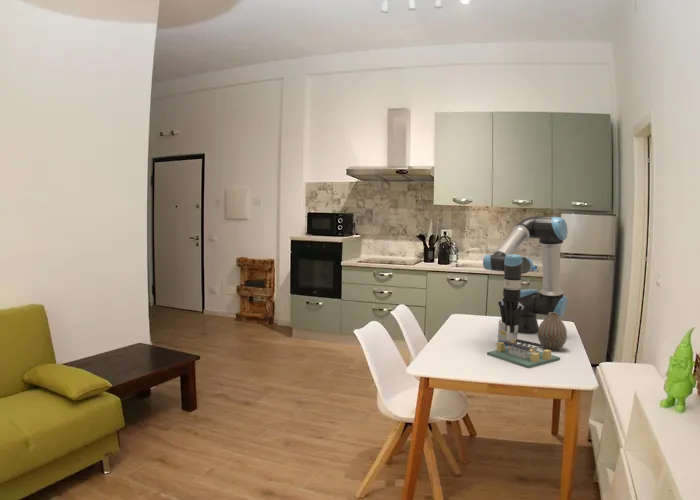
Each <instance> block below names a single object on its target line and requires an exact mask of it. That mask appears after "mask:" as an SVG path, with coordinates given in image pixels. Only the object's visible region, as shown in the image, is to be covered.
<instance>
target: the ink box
mask: <svg viewBox="0 0 700 500" xmlns="http://www.w3.org/2000/svg"><path fill="white" fill-rule="evenodd" d="M505 329H506V325H505V323H502V319H501V318H500V319H498V331H497V332H498V333H497V343H498V342H505V341H513V340H515V339H518V333H519V332H518V325H516V326H515V329H514V333H513V339H512V340H507V339H506V334H507V332H506V331H505ZM505 347H509V345H507V344H505Z"/></svg>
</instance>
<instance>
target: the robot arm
mask: <svg viewBox="0 0 700 500" xmlns="http://www.w3.org/2000/svg"><path fill="white" fill-rule="evenodd" d="M568 231H569V230H568V224H567V222H566V220H565V219H564V218H563V217H560V216H559V217H558V216H535V215H534V216H529V217H526V218H523V219H522V220H520V221H519V222H517V223H516V224H515V225H514V226H513V227H512V229H511V233H510V234H509V236H507V238H506V239H505V240H504V241H503V242H502V243H501V245H500V246H499V247H498V248H497V249H496V250H495V252H493V254H486V255H484V257H483V259H482V266H483V268H484V269H485V270H487V271H491V272H492V271H494V272H495V271H496V272H503V289H502V297H503V298H502V300H499V301H498V302H497V303H498V305H499V310H500V311H499V312H500V317H501V318H500V319H501V320H502V323H505V325H506V329H505V331H506V332H507V334H506V339H507V340H512V339H513V333H514V329H515V326H516V325H518V333H519V334H526V335H529V334H532V335H533V334H538V329H539V326H540V325H539V324H538V319H537V316H538V315H541V316H546V317H547V316H548V314H549V312H554V313H558V315H559V318H561V317H562V316H563V315H564V314H565V311H566V309H567V306H568V297H567V296H565V295H564V290H562V289H561V245H563V243H564V241H565V240H567V238H568ZM529 239H538V243H539V244H540V245H541V246H542V255H541V256H542V259H541V260H542V289H540V291H539V290H538V289H535V288H533V289H532V288H529V289H528V288H527V289H521V288H522V275H523V274H524V275H525V274H527V273H529V272H530V271H532V270H533V267H534V263H533V260H531V258H529V257H526V256H522V255H520V254H515V253H516V252H517V251H518V249H519V248H520V247H521V246H522V244H523V243H524V242H527V241H528V240H529Z"/></svg>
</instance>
